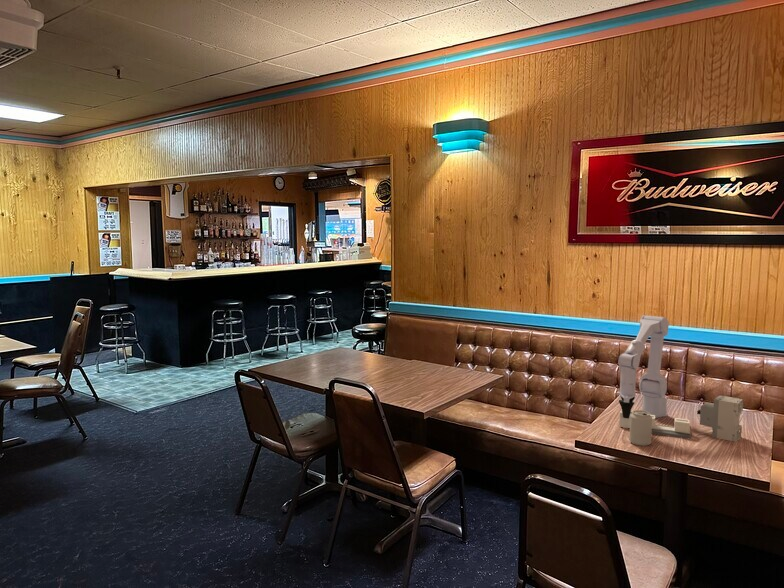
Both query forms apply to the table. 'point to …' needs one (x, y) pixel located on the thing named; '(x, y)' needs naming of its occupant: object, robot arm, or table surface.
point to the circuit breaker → (723, 417)
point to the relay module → (624, 421)
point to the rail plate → (673, 428)
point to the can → (640, 428)
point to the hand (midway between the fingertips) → (626, 415)
